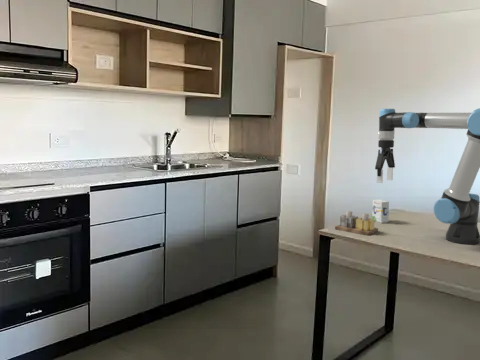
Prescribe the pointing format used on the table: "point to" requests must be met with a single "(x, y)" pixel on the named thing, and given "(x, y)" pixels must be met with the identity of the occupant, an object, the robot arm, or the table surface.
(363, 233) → the gear board
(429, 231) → the table surface
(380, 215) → the ink box
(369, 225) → the brass gear
